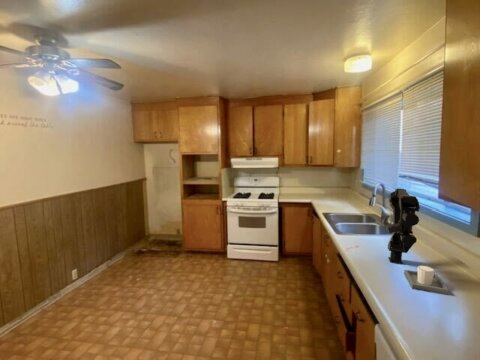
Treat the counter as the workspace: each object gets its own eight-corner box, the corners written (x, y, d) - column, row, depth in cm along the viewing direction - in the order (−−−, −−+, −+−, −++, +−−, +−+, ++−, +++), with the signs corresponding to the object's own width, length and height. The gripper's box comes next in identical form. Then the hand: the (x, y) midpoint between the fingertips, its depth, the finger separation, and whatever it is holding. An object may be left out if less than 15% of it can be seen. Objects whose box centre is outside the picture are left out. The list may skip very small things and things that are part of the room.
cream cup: (417, 277, 137) (418, 263, 136) (433, 281, 132) (435, 268, 131) (415, 282, 131) (416, 268, 130) (432, 287, 127) (434, 273, 126)
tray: (404, 273, 141) (404, 269, 141) (436, 278, 137) (436, 274, 137) (412, 288, 126) (412, 284, 126) (448, 294, 122) (448, 290, 122)
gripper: (385, 214, 151) (383, 241, 153) (392, 223, 134) (389, 254, 136) (408, 216, 148) (405, 244, 150) (418, 225, 130) (415, 257, 132)
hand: (403, 249), depth 142 cm, fingers open, 9 cm apart
